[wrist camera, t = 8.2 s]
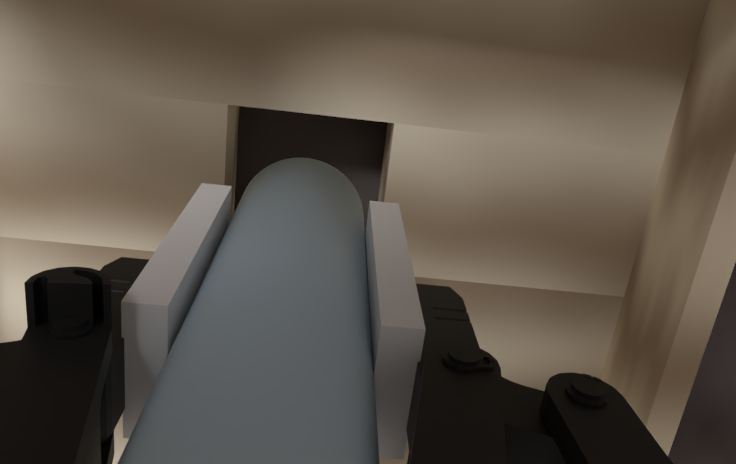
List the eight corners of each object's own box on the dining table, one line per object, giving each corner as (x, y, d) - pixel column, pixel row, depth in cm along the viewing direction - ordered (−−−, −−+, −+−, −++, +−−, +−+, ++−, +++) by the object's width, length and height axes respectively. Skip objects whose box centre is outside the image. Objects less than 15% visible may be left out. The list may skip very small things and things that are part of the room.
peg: (242, 150, 19) (3, 562, 6) (370, 164, 19) (420, 590, 6) (236, 267, 20) (28, 822, 7) (356, 279, 20) (370, 835, 7)
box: (-82, -175, 19) (-256, -232, 14) (719, -66, 21) (853, -77, 15) (-11, 485, 28) (-100, 614, 22) (551, 525, 30) (598, 655, 24)
